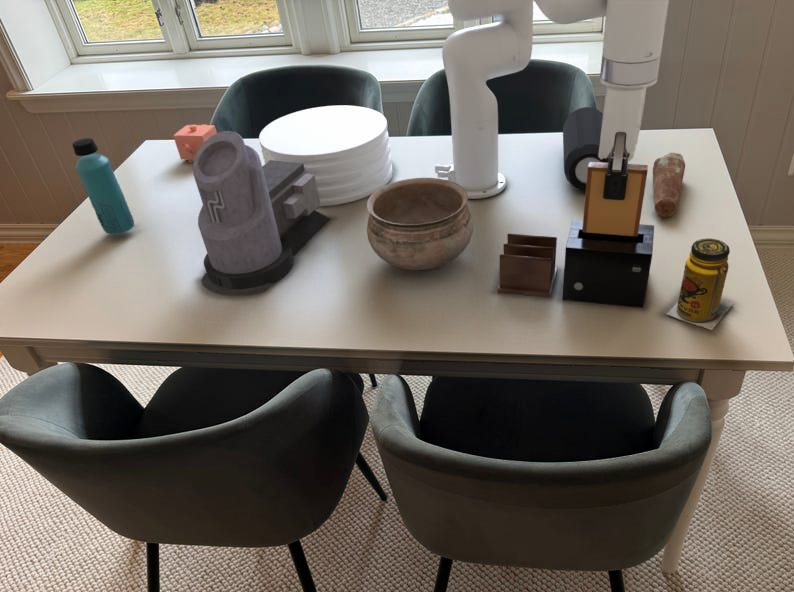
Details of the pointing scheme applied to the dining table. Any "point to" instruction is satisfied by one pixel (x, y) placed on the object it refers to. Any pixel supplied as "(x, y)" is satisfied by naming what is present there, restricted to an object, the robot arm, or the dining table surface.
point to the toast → (613, 202)
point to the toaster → (607, 266)
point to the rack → (528, 265)
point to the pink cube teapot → (192, 139)
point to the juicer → (251, 215)
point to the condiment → (703, 285)
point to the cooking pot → (419, 222)
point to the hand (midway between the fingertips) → (614, 194)
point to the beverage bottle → (102, 188)
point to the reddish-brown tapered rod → (667, 183)
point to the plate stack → (334, 149)
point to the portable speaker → (581, 144)
